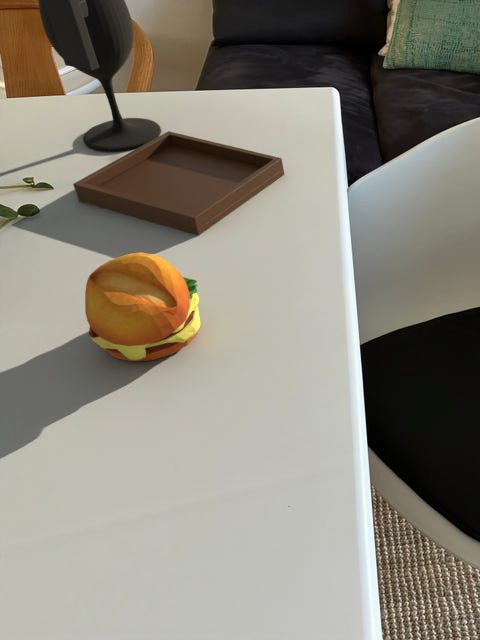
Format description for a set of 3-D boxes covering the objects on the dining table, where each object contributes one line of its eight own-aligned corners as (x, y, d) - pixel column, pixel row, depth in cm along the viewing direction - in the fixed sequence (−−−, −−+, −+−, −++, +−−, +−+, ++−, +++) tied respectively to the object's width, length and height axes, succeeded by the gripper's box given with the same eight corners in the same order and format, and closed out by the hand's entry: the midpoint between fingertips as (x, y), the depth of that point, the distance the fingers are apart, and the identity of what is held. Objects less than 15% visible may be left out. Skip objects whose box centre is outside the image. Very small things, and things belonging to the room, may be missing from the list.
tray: (78, 200, 95) (72, 183, 94) (172, 146, 107) (168, 130, 105) (199, 235, 90) (194, 218, 88) (284, 174, 101) (281, 158, 99)
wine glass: (85, 157, 104) (30, -1, 91) (81, 127, 111) (29, -24, 98) (166, 144, 107) (123, -11, 94) (156, 115, 115) (116, -32, 102)
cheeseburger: (203, 291, 81) (183, 221, 73) (216, 373, 75) (197, 307, 67) (98, 309, 78) (66, 238, 70) (104, 395, 72) (70, 328, 64)
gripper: (-402, -300, 31) (-132, 185, 45) (85, -299, 48) (172, 50, 62) (-495, -300, 33) (-212, 159, 47) (0, -300, 51) (102, 37, 64)
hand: (6, 98), depth 55 cm, fingers open, 13 cm apart
